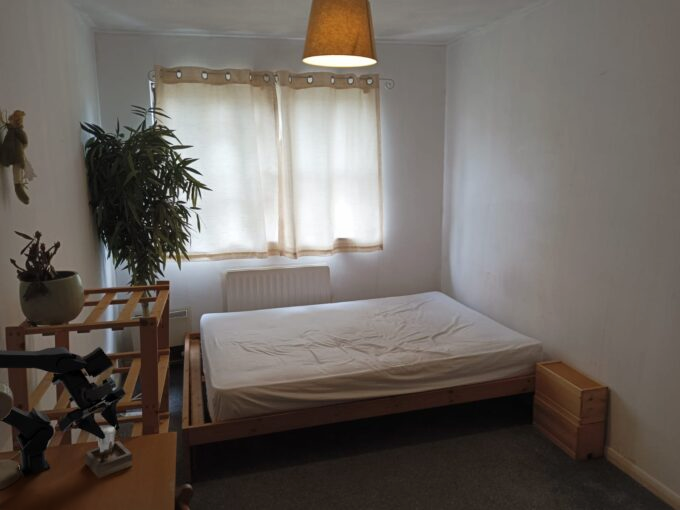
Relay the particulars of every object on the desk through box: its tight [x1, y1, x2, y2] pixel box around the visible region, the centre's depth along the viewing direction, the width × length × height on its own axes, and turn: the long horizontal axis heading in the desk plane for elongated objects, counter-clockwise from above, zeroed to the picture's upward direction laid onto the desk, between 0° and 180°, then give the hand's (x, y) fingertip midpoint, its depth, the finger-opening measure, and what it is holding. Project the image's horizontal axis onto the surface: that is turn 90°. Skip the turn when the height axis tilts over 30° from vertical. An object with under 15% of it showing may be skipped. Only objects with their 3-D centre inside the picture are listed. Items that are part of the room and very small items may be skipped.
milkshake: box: [97, 424, 116, 461], centre depth 145 cm, size 4×5×10 cm
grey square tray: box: [85, 440, 133, 479], centre depth 146 cm, size 9×9×4 cm
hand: (111, 434), depth 144 cm, fingers open, 5 cm apart
